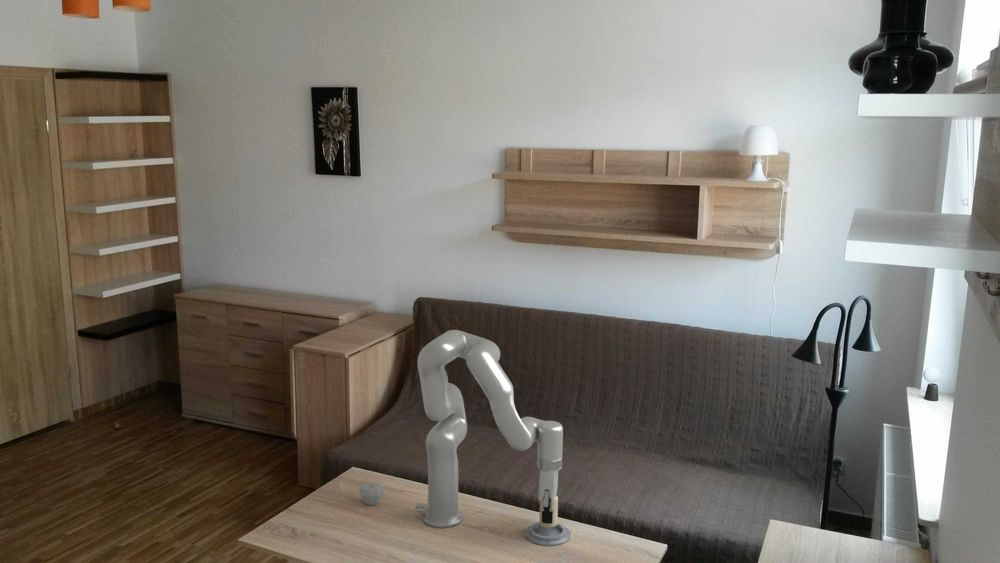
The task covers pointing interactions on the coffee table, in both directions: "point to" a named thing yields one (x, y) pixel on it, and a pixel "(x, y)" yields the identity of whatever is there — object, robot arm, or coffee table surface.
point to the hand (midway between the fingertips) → (548, 517)
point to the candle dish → (547, 534)
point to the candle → (555, 513)
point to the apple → (371, 493)
